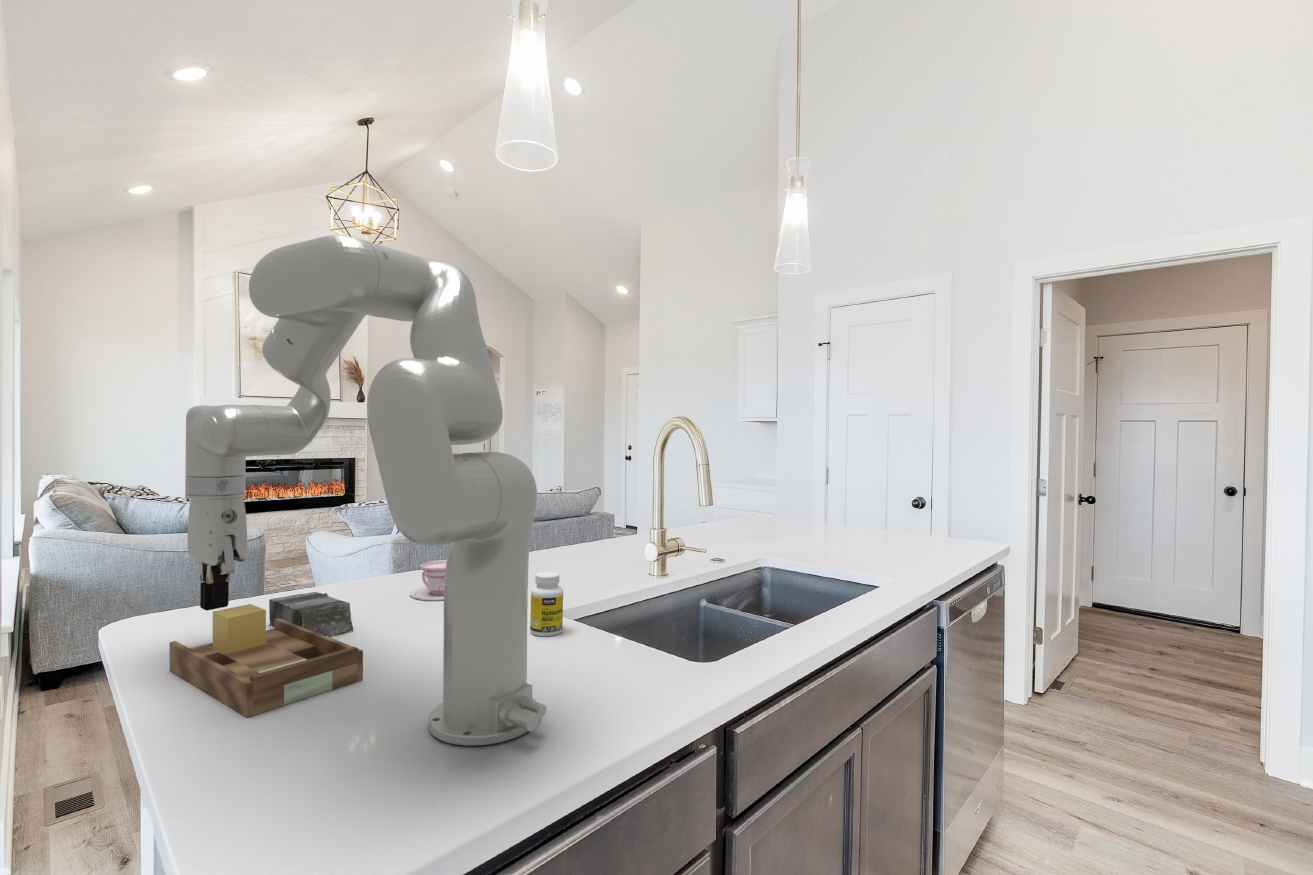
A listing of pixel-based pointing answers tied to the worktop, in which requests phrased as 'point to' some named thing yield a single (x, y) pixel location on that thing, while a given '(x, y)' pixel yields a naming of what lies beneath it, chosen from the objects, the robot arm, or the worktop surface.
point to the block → (239, 628)
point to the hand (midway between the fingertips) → (214, 607)
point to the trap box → (269, 668)
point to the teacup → (431, 581)
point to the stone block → (313, 612)
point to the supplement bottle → (546, 605)
